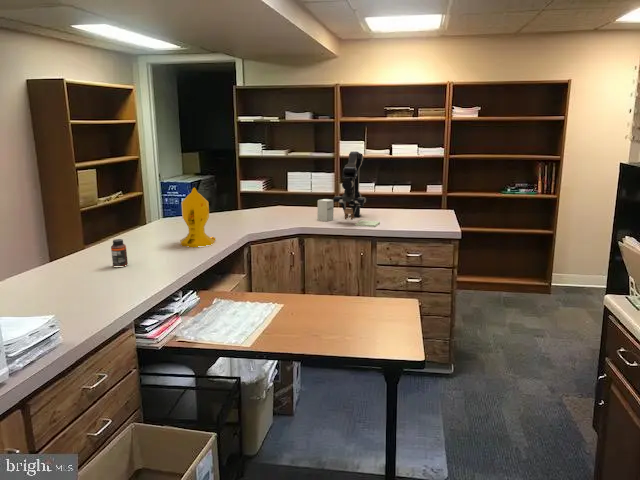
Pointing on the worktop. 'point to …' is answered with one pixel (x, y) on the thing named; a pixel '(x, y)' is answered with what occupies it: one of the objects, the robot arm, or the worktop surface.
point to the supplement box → (325, 210)
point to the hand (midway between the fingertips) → (349, 213)
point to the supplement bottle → (119, 253)
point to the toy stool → (349, 213)
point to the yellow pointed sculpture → (196, 220)
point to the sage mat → (367, 223)
